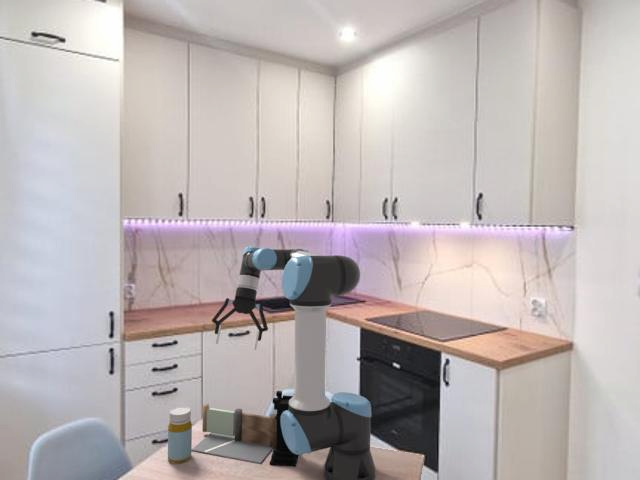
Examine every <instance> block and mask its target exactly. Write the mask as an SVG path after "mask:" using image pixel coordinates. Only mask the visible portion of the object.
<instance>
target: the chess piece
mask: <svg viewBox="0 0 640 480" xmlns="http://www.w3.org/2000/svg"><path fill="white" fill-rule="evenodd" d="M275 396H276V397H273V398H272V404H273V410H276V413H275V414H276V417H275V419H276V420H277V434H276V445H275V447H274V448H273V449H272V455H271V459H270V461H269V466H280V467H292V468H293V467H295V468H297V463H298V460H299V456H300V455H297V454H294V453H293V452H291V451H290V449H289V448H288V446H287V444H286V442H285V440H284V437H283V434H282V430H281V422H280V419H281V415H282V413H283V412H284V411H286V410H289V400H290V399H291V398H292V397H293V396H294V395H283V391H282V390H277V391H276V393H275Z"/></svg>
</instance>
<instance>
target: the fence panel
mask: <svg viewBox="0 0 640 480" xmlns="http://www.w3.org/2000/svg"><path fill="white" fill-rule="evenodd" d="M209 406H210V404H209V403H204V404H202V430H201V431H202V432H203V433H209V434H210V433H216V434H222V435H228V436H234V435H235V410H234V411H233V410H228V409H221V408H214V407H209Z"/></svg>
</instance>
